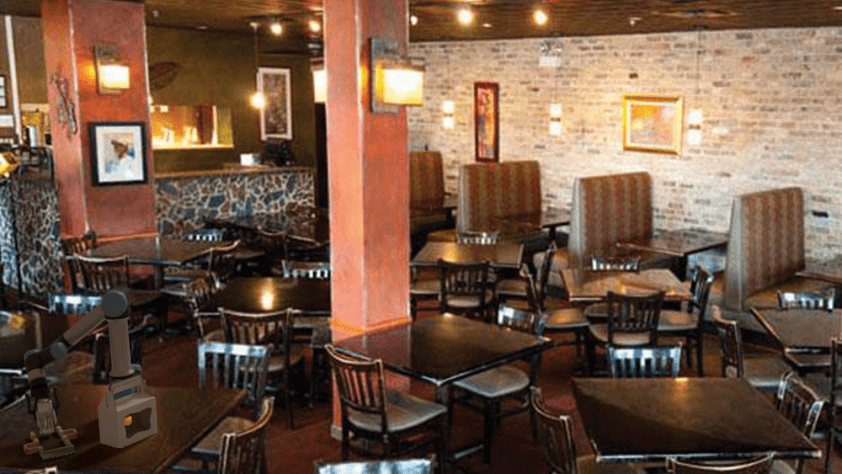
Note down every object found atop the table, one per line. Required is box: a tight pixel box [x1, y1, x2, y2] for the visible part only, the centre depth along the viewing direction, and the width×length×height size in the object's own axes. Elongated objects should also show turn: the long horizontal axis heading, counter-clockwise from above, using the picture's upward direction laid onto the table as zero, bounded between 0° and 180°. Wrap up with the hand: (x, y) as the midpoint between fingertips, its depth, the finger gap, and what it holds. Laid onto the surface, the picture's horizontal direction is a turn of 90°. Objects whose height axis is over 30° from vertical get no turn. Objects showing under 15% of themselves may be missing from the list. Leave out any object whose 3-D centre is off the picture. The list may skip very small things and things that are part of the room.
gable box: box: [97, 375, 158, 449], centre depth 382 cm, size 22×13×28 cm, turn 149°
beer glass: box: [36, 398, 55, 436], centre depth 385 cm, size 7×7×15 cm
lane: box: [29, 425, 76, 461], centre depth 376 cm, size 31×13×4 cm, turn 34°
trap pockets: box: [22, 427, 79, 456], centre depth 378 cm, size 14×23×2 cm, turn 124°
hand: (47, 424), depth 382 cm, fingers closed on beer glass, 6 cm apart
